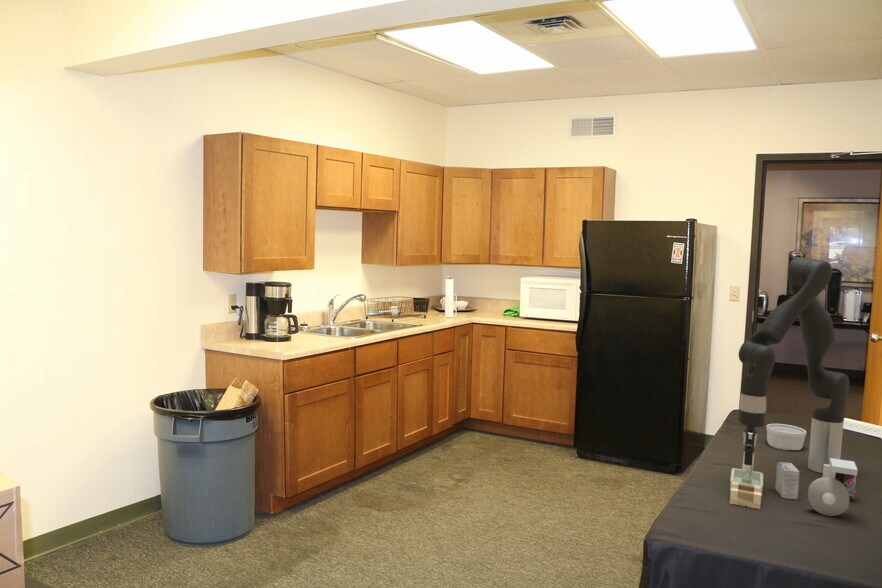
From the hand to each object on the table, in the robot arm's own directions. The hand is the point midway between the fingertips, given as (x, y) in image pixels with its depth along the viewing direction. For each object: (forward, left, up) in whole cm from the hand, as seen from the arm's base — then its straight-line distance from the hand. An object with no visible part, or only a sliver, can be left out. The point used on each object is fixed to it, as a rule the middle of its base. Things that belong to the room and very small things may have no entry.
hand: (748, 460), depth 217 cm
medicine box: (+1, +11, -8) cm, 14 cm away
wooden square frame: (+14, 0, -8) cm, 16 cm away
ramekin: (-54, +12, -8) cm, 56 cm away
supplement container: (-5, +26, -8) cm, 28 cm away
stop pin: (0, 0, -8) cm, 8 cm away
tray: (0, 0, -8) cm, 8 cm away
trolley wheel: (+11, +22, -8) cm, 25 cm away
